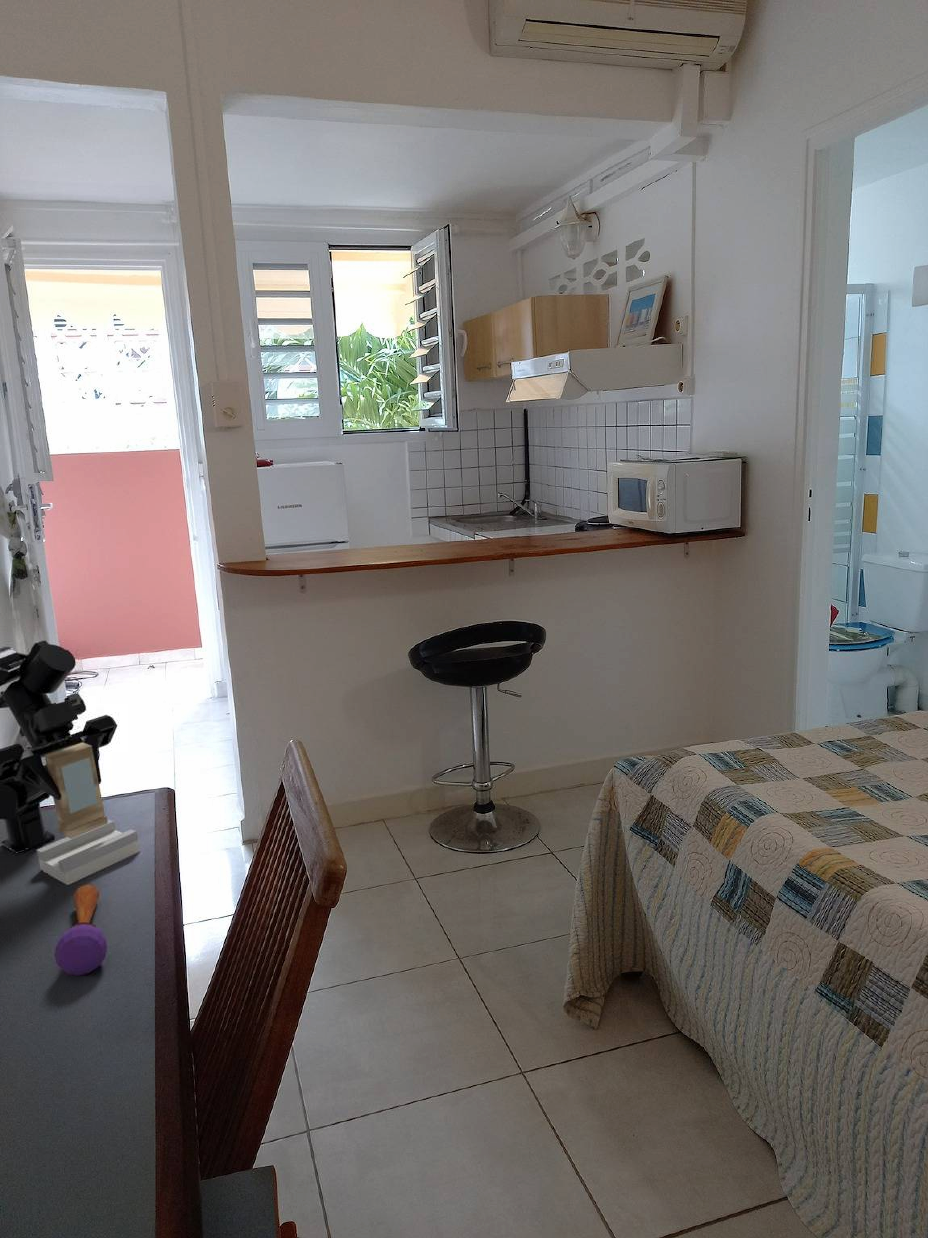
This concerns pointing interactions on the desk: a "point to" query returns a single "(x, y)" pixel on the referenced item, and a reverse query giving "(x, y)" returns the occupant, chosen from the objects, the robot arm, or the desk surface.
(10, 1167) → the desk surface
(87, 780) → the beige block with panel
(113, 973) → the desk surface
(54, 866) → the ledge
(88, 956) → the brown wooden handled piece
